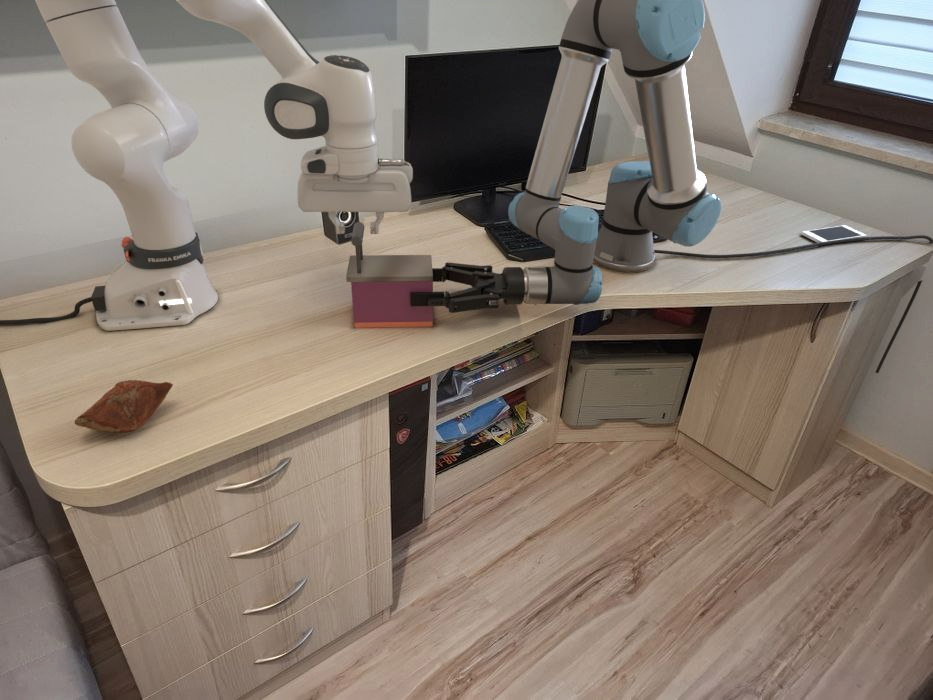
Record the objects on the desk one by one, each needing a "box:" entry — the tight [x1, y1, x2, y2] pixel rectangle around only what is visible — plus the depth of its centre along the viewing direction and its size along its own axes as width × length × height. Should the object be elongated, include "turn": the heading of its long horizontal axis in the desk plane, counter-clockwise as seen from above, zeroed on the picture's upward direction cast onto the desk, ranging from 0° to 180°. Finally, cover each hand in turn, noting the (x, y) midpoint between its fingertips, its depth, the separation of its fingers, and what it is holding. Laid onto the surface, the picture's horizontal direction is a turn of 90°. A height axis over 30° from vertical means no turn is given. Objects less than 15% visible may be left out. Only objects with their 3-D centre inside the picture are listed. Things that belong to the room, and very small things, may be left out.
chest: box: [350, 281, 434, 329], centre depth 126 cm, size 15×9×10 cm, turn 94°
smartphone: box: [801, 224, 867, 243], centre depth 170 cm, size 7×16×1 cm, turn 111°
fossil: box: [74, 379, 174, 434], centre depth 97 cm, size 13×8×10 cm
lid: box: [345, 221, 433, 283], centre depth 121 cm, size 16×9×9 cm, turn 94°
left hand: (357, 232), depth 118 cm, fingers open, 5 cm apart
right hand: (410, 286), depth 126 cm, fingers closed on chest, 9 cm apart
